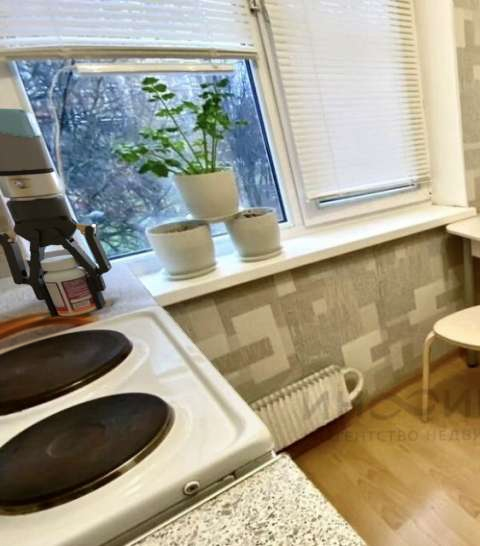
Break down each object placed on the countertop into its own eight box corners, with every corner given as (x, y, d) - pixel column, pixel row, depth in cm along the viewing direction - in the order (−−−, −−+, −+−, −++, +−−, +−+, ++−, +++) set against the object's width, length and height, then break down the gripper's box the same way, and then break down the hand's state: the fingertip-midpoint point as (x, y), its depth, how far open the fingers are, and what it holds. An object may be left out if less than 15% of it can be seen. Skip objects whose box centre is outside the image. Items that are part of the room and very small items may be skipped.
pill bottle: (106, 302, 90) (87, 252, 86) (90, 314, 84) (70, 261, 80) (69, 307, 88) (48, 255, 84) (51, 319, 82) (28, 265, 78)
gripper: (-55, 205, 70) (3, 328, 78) (97, 195, 80) (135, 305, 87) (-30, 199, 77) (21, 313, 84) (108, 190, 86) (142, 294, 93)
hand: (79, 309), depth 86 cm, fingers closed on pill bottle, 6 cm apart
